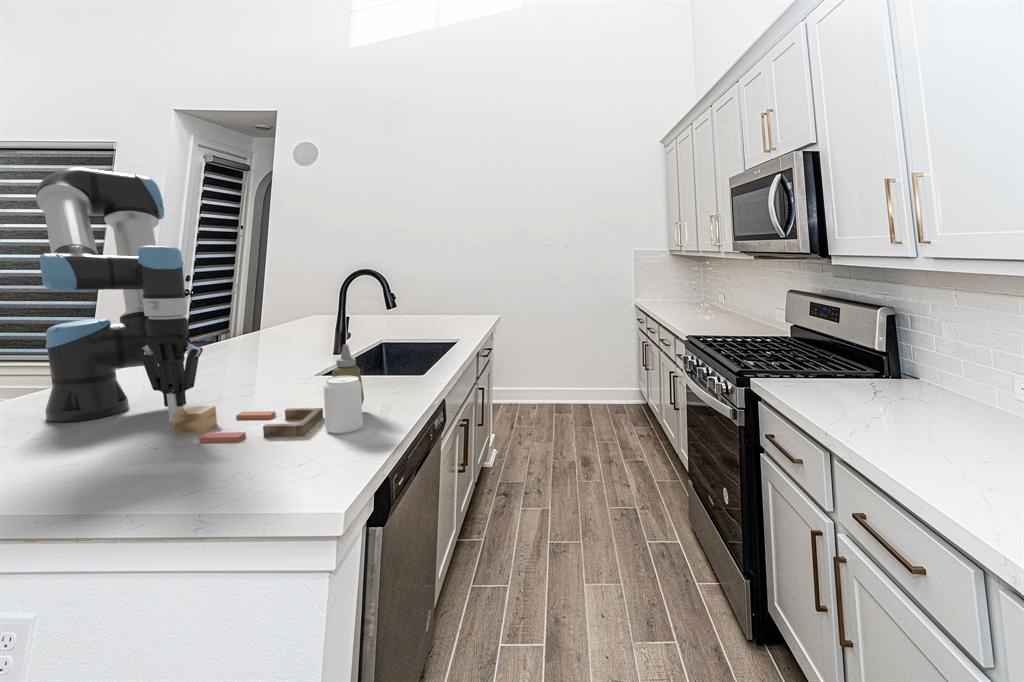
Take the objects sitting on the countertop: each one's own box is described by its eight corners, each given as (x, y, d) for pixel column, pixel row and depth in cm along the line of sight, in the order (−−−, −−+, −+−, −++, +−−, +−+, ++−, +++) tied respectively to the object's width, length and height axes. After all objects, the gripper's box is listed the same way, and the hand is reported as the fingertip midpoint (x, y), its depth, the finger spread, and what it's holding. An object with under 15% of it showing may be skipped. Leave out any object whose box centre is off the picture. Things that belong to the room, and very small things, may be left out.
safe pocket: (263, 437, 98) (262, 426, 98) (287, 418, 111) (287, 408, 111) (303, 436, 99) (303, 425, 98) (323, 417, 112) (322, 408, 111)
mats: (199, 442, 95) (198, 437, 94) (242, 415, 112) (242, 411, 112) (238, 441, 95) (238, 437, 95) (275, 415, 113) (275, 411, 113)
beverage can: (350, 436, 99) (348, 384, 97) (318, 433, 101) (315, 382, 99) (369, 424, 107) (367, 376, 105) (338, 422, 109) (336, 374, 107)
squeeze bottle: (324, 415, 113) (320, 346, 111) (347, 407, 121) (344, 341, 118) (349, 420, 110) (346, 348, 108) (371, 411, 118) (369, 343, 115)
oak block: (174, 433, 100) (172, 414, 99) (189, 424, 106) (187, 406, 105) (202, 432, 100) (201, 413, 100) (216, 423, 106) (215, 405, 106)
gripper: (122, 318, 94) (134, 425, 98) (186, 319, 95) (196, 424, 99) (147, 315, 102) (158, 415, 105) (207, 316, 103) (216, 414, 106)
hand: (176, 419), depth 102 cm, fingers closed
